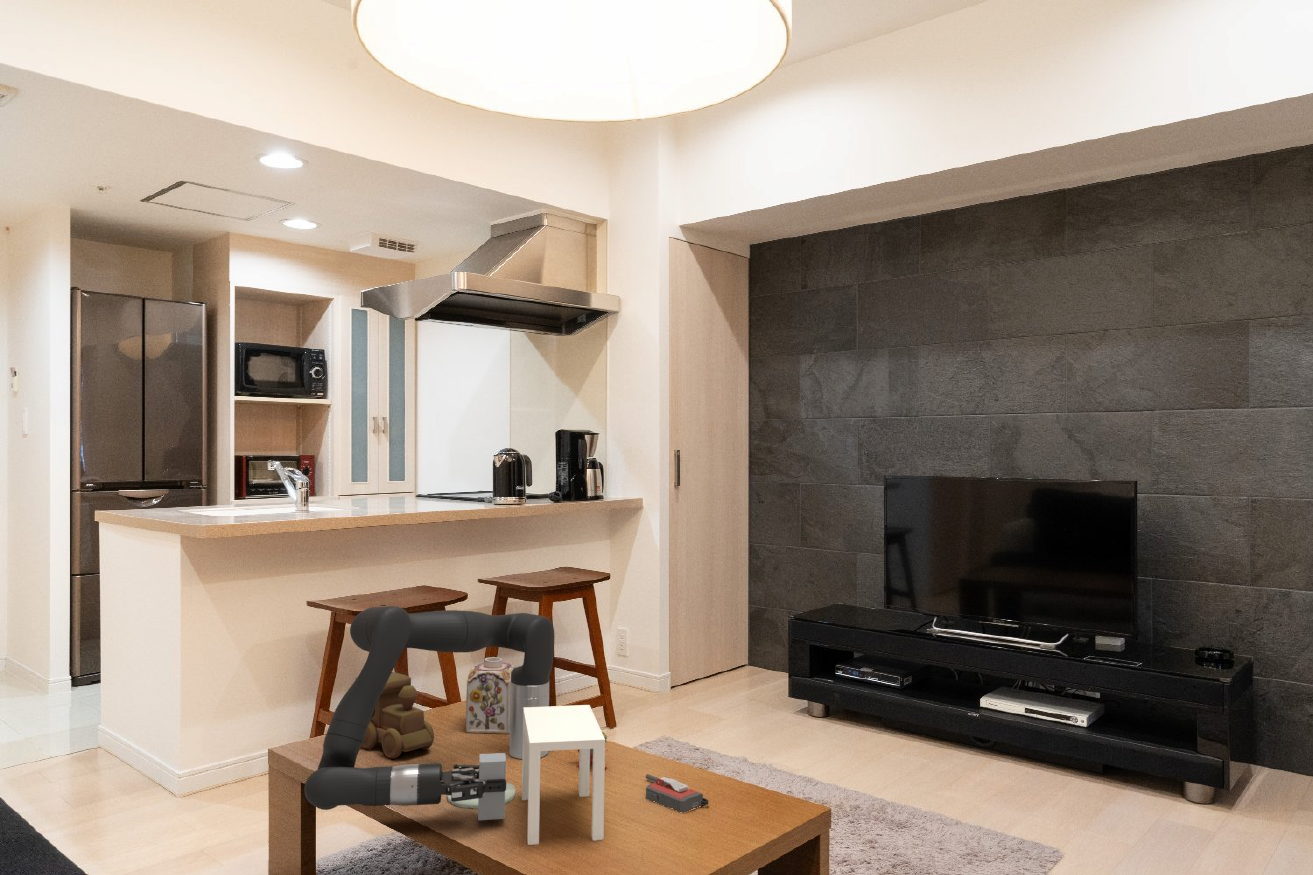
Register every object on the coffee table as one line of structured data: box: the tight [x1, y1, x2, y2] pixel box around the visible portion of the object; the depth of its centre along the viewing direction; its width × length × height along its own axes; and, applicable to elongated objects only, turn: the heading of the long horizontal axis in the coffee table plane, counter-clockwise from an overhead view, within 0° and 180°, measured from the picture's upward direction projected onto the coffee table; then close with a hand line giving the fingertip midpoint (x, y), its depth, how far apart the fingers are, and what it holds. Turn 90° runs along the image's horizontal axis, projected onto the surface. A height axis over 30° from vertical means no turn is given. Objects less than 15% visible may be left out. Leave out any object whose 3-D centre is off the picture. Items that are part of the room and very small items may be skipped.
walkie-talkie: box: [645, 773, 710, 813], centre depth 191 cm, size 9×4×20 cm
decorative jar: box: [465, 656, 516, 735], centre depth 238 cm, size 12×12×18 cm
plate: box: [447, 781, 516, 810], centre depth 189 cm, size 14×14×1 cm
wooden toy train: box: [354, 671, 435, 760], centre depth 219 cm, size 20×11×17 cm, turn 50°
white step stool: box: [521, 704, 606, 846], centre depth 179 cm, size 14×24×19 cm, turn 11°
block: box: [477, 752, 507, 821], centre depth 176 cm, size 5×5×11 cm
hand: (505, 779), depth 177 cm, fingers closed on block, 5 cm apart
